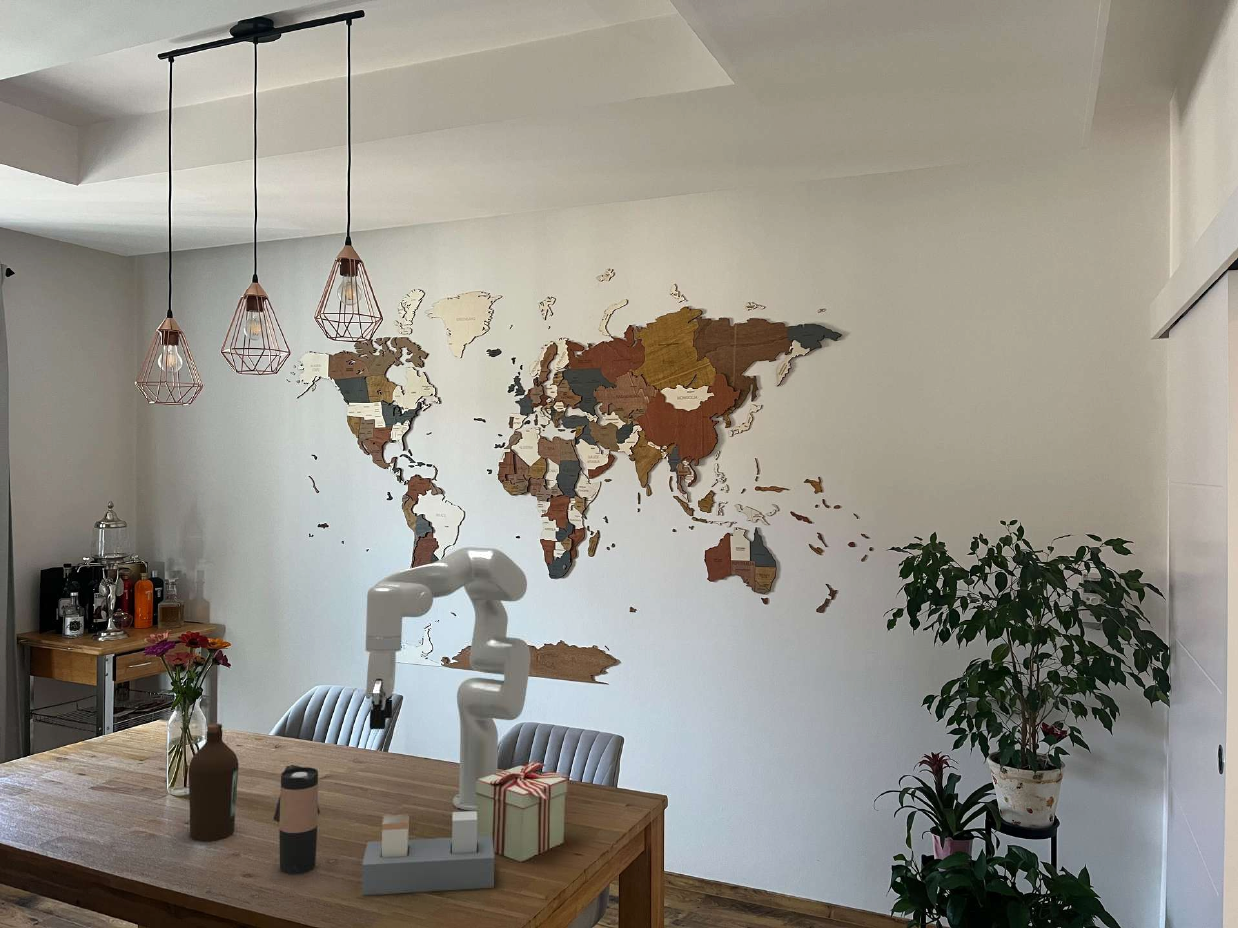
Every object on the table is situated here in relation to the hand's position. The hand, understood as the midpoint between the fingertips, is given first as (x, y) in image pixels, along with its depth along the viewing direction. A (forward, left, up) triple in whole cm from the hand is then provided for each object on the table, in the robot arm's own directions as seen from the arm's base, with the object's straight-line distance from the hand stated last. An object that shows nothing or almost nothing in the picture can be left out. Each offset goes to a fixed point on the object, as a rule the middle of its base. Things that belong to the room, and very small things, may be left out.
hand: (380, 723), depth 203 cm
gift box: (-28, +17, -30) cm, 44 cm away
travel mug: (+13, -10, -30) cm, 34 cm away
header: (-2, +15, -30) cm, 33 cm away
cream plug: (+3, +10, -30) cm, 32 cm away
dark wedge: (-3, -37, -30) cm, 48 cm away
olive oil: (+16, -41, -30) cm, 53 cm away
